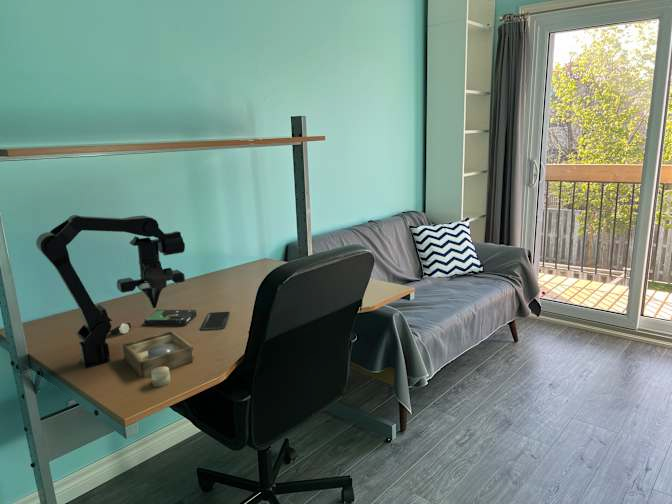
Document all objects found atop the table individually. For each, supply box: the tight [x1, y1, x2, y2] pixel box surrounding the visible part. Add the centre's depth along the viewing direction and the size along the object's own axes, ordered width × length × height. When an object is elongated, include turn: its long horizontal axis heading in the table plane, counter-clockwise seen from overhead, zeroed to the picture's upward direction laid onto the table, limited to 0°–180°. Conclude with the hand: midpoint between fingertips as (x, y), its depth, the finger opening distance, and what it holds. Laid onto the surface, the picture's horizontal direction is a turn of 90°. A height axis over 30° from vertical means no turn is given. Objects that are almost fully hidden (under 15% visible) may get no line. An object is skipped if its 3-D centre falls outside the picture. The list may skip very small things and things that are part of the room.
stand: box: [151, 366, 171, 388], centre depth 130 cm, size 4×4×4 cm
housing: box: [122, 331, 194, 379], centre depth 143 cm, size 14×16×4 cm
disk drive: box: [143, 309, 198, 327], centre depth 174 cm, size 10×3×15 cm
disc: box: [148, 344, 174, 359], centre depth 143 cm, size 7×7×2 cm
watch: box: [109, 322, 132, 337], centre depth 165 cm, size 8×5×4 cm, turn 158°
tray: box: [128, 330, 195, 361], centre depth 143 cm, size 15×15×4 cm
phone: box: [200, 311, 231, 331], centre depth 172 cm, size 8×1×15 cm
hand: (154, 307), depth 153 cm, fingers closed
